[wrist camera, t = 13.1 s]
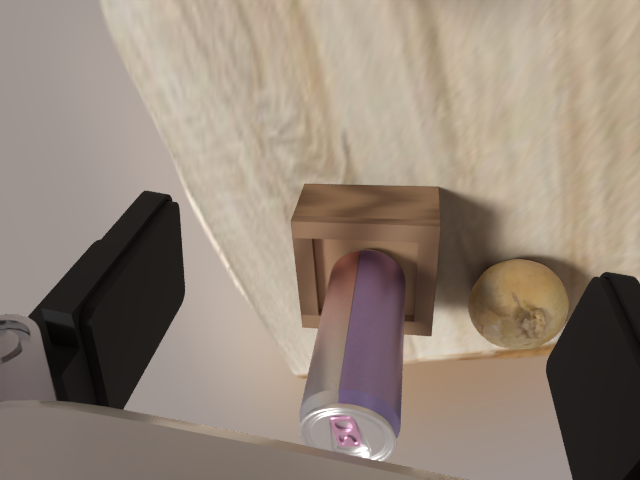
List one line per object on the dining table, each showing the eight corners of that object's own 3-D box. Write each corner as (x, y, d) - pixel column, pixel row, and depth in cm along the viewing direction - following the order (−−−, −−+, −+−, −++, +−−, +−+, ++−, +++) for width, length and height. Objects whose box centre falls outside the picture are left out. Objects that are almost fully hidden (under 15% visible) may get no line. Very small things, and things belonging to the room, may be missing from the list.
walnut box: (438, 186, 42) (440, 226, 37) (430, 290, 48) (431, 336, 43) (304, 183, 43) (290, 221, 39) (313, 284, 50) (302, 327, 45)
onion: (566, 306, 47) (587, 367, 41) (477, 322, 49) (485, 381, 44) (552, 237, 43) (572, 293, 37) (456, 258, 45) (461, 313, 40)
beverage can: (400, 241, 39) (391, 405, 27) (410, 300, 42) (406, 471, 30) (324, 248, 41) (284, 406, 29) (339, 304, 44) (308, 468, 32)
